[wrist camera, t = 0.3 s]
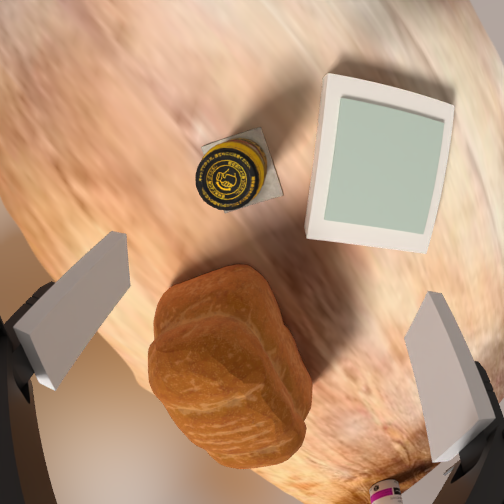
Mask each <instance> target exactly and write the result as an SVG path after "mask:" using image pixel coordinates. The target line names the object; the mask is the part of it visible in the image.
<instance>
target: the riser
mask: <svg viewBox="0 0 504 504" xmlns="http://www.w3.org/2000/svg"><path fill="white" fill-rule="evenodd" d="M454 107H455V106H454V105H451V104H449V103H446V102H443V101H440V100H437V99H434V98H430V97H427V96H424V95H421V94H417V93H414V92H410V91H407V90H403V89H400V88H396V87H392V86H388V85H384V84H380V83H376V82H371V81H367V80H362V79H357V78H353V77H348V76H342V75H337V74H331V73H327V74H326V75H325V76H324V77H323V80H322V90H321V100H320V109H319V118H318V127H317V135H316V143H315V152H314V159H313V167H312V175H311V182H310V189H309V197H308V204H307V210H306V217H305V224H304V229H305V233H306V237H307V239H315V240H324V241H332V242H340V243H348V244H356V245H364V246H371V247H379V248H387V249H394V250H402V251H409V252H416V253H424V254H426V253H427V250H428V246H429V243H430V239H431V235H432V231H433V227H434V223H435V219H436V215H437V211H438V206H439V202H440V197H441V193H442V188H443V183H444V177H445V172H446V166H447V161H448V154H449V148H450V141H451V134H452V126H453V117H454Z"/></svg>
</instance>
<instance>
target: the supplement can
mask: <svg viewBox="0 0 504 504" xmlns="http://www.w3.org/2000/svg"><path fill="white" fill-rule="evenodd" d="M370 498H371V504H403V502H402V498H401V493H400V488H399V483H398V481H395V480H393V479H389V480H384V481H381V482H378V483H376V484H374V485H373V486H372V488H371V489H370Z"/></svg>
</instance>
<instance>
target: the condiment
mask: <svg viewBox="0 0 504 504" xmlns="http://www.w3.org/2000/svg"><path fill="white" fill-rule="evenodd" d="M201 149H202V151H203V154H204V156H203V158H202V160H201V162H200V164H199V166H198V168H197V172H196V187H197V190H198V192H199V195H200V196H201V197H202V199H203V200H204V201H205V202H206V203H207V204H208V205H210V206H212V207H214V208H217V209H218V210H224V212H225V213H228V212H231V211H233V210H237V209H240V208H243V207H246V206H249V205H253V204H256V203H258V202H263V201H266V200H269V199H272V198H276V197H280V196H283V193H282V190H281V186H280V183H279V180H278V177H277V174H276V171H275V168H274V165H273V162H272V158H271V155H270V152H269V149H268V146H267V143H266V140H265V138H264V135H263V132H262V129H261V127H258V128H255V129H252V130H249V131H246V132H243V133H240V134H237V135H234V136H231V137H228V138H225V139H222V140H219V141H217V142H214V143H211V144H208V145H206V146H203V147H201Z"/></svg>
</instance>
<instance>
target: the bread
mask: <svg viewBox="0 0 504 504" xmlns="http://www.w3.org/2000/svg"><path fill="white" fill-rule="evenodd" d="M154 339H155V340H154V341H153V342H152V344H151V345H150V347H149V351H148V375H149V383H150V386H151V388H152V391H153V393H154V394H155V395H156V397H157V398H158V399H159V400H160V401H161V402H162V403H163V405H164V406H165V408H166V409H167V411H168V413H169V415H170V416H171V418H172V419H173V421H174V422H175V424H176V425H177V426H178V428H179V429H180V430H181V431H182V432H183V433H184V434H185V435H186V436H187V437H188V439H189V440H190V441H191V442H193V443H194V444H195V445H196V446H199V447H201V448H203V449H205V450H206V451H207V452H208V454H209V455H210V456H211V457H212V458H213V459H215V460H216V461H217V462H218V463H219V464H221V465H224V466H226V467H231V468H236V469H248V468H258V467H264V466H271V465H276V464H279V463H282V462H284V461H286V460H288V459H289V458H290V457H291V456H292V455H293V454H294V453H295V452H296V451H298V449H299V448H300V447H301V446H302V443H303V441H304V438H305V434H306V429H307V428H306V425H305V423H304V420H305V419H306V417H307V415H308V413H309V411H310V409H311V403H312V380H311V377H310V375H309V373H308V371H307V369H306V368H305V366H304V364H303V361H302V359H301V357H300V354H299V352H298V350H297V346H296V342H295V340H294V339H293V337H292V335H291V333H290V331H289V329H288V328H287V327H286V326H285V325H284V323H283V320H282V316H281V313H280V309H279V307H278V304H277V302H276V299H275V297H274V295H273V293H272V290H271V288H270V286H269V284H268V282H267V281H266V280H265V278H264V277H263V276H262V275H261V274H260V273H259V272H257V271H256V270H255V269H253V268H252V267H250V266H249V265H241V264H237V265H231V266H226V267H223V268H220V269H218V270H215V271H212V272H209V273H206V274H204V275H201V276H198V277H195V278H193V279H190V280H187V281H185V282H182V283H180V284H177V285H173V286H172V287H171V288H169V289H168V290H167V291H166V292H165V293H164V294H163V295H162V297H161V299H160V301H159V303H158V305H157V308H156V312H155V317H154Z"/></svg>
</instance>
